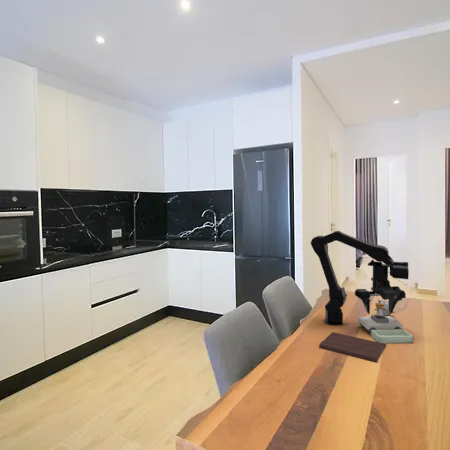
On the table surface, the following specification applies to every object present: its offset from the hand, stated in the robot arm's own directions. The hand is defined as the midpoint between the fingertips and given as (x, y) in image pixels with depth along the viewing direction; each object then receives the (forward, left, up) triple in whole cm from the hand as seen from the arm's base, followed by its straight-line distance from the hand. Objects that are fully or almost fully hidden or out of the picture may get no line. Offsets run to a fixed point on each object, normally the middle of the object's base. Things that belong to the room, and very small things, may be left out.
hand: (379, 313), depth 135 cm
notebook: (-17, -15, -8) cm, 24 cm away
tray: (0, -10, -7) cm, 12 cm away
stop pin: (0, 0, -3) cm, 3 cm away
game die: (+10, +15, -7) cm, 20 cm away
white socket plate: (0, 0, -7) cm, 7 cm away
